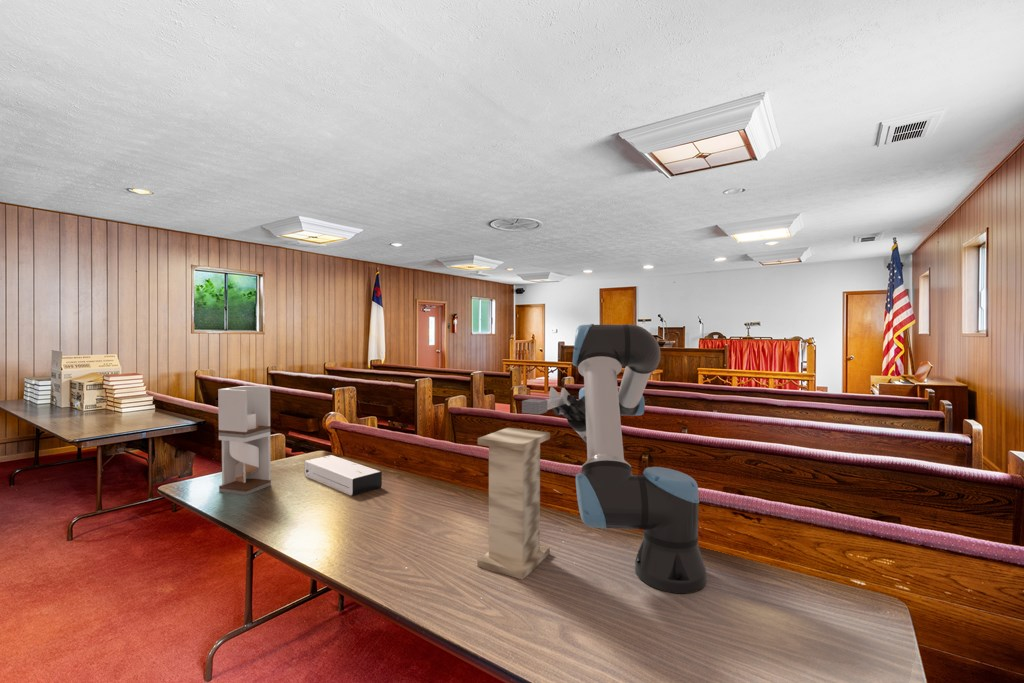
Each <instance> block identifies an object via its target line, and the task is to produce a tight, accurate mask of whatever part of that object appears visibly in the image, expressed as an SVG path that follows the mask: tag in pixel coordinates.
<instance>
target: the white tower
mask: <svg viewBox="0 0 1024 683" xmlns="http://www.w3.org/2000/svg"><path fill="white" fill-rule="evenodd" d="M217 391H218V393H217V395H218V400H217V401H218V402H217V404H218V405H217V406H218V407H217V408H218V414H217V415H218V441H221V478H222V479H221V483H222V484H220V485H218V492H220V493H226V494H233V495H240V496H248V495H250V494H253V493H254V492H258V491H260V490H263V489H265V488H267V487H270V486H271V485H272V482H271V481H272V480H271V479H272V478H271V476H272V474H271V472H272V470H271V467H272V466H271V465H272V464H271V461H272V460H271V459H272V457H271V455H272V454H271V452H272V451H271V450H272V449H271V386H257V385H256V386H255V385H243V386H242V385H241V386H233V387H225V388H218V389H217Z"/></svg>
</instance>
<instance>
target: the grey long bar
mask: <svg viewBox="0 0 1024 683" xmlns="http://www.w3.org/2000/svg"><path fill="white" fill-rule="evenodd" d="M564 404H566V403H565V402H564V401H563V399H562V398H561V397H560V394H559V396H556V397H553V398H550V397H549V398H545V399H538V398H537V399H536V398H528V399H525V400H522V401H521V414H530V415H531V414H532V415H537V416H538V415H542V414H545V413H547V412H548V411H549V410H553V409H552V408H555V407H558V406H561V405H564Z"/></svg>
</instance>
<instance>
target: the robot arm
mask: <svg viewBox="0 0 1024 683" xmlns="http://www.w3.org/2000/svg"><path fill="white" fill-rule="evenodd" d="M572 353H573V354H572V366H574V367H576V368H577V370H578V373H579V374H580V375H581V376H582V377H583V384H584V387H581V388H580V389H579V392H578V397H577V395H571V394H570V393H569V392H568V390H566V388H565V387H561V390H560V394H559V393H558V391H557V390H556V389H555V388H554V387H553V386H550V388H549V393H548V396H549V398H553V397H556V396H559V395H560V397H561V398H562V399H563V401H564V402H565V403H566V404H564V405H561V406H558V407H555V408H552V409H551V410H552V411H553V412H554V415H555V416H556V417H558V416H560V415H562V416H563V418H566V420H567V422H568V425H569V426H570V427H571V428H572V429H573V430H574V431H575V432H576V433H577V434H578V436H579V437H580V438H581V440H583V441H584V442H585V443H586V453H587V454H586V455H587V456H586V457H587V458H586V459H587V460H586V461H585V462H584V463H583V464H582V465H581V468H580V469H581V472H579V473H577V474H575V488H576V498H577V499H576V500H577V506H578V510H579V515H580V519H581V521H582V523H583V524H584V525H585V526H587V528H596V529H597V528H598V529H601V530H606V529H619V530H621V529H622V530H623V529H624V530H643V531H642V532H643V533H642V534H643V536H642V540H641V543H640V545H639V549H638V551H637V554H636V557H635V564H634V565H635V566H634V568H635V570H634V571H635V574H636V576H637V577H638V579H639V580H641V581H642V582H643V583H644V584H646V585H648V586H650V587H652V588H654V589H657V590H659V591H664V592H668V593H674V594H690V593H695V592H698V591H700V590H702V589H703V588H704V587H705V586H706V584H707V569H706V566H705V563H704V560H703V557H702V553H701V551H700V547H699V503H700V496H699V486H698V483H697V481H696V480H695V479H694V478H693V477H692V476H690V475H688V474H687V473H684V472H683V471H679V470H677V469H672V468H667V467H662V466H651V467H649V466H648V467H646V468H644V470H643V472H642V475H641V474H639V475H638V474H633V472H632V469H633V468H632V465H631V464H630V463H628V462H627V460H626V459H625V455H624V445H623V444H624V443H623V434H622V423H621V416H622V417H623V416H625V417H626V416H628V417H629V416H630V417H634V416H635V417H636V416H642V415H644V413H645V408H646V407H645V405H646V403H645V396H644V395H643V394H644V391H645V389H646V386H647V385H648V381H649V380H650V377H651V375H652V373H653V372H655V371H656V369H657V368H658V366H659V364H660V362H661V356H662V355H661V347H660V344H659V343H658V341H657V339H656V337H654V335H653V334H652V333H651V332H650V331H648V330H647V329H645V328H643V326H640V325H636V324H630V323H627V324H594V323H590V324H580V325H578V327H576V330H575V337H574V344H573V352H572ZM623 367H625V368H624V372H623V375H622V379H621V382H620V386H618V375H619V374H620V373H621V371H622V368H623ZM618 387H619V388H618ZM577 398H578V399H577Z"/></svg>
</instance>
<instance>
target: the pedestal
mask: <svg viewBox="0 0 1024 683" xmlns="http://www.w3.org/2000/svg"><path fill="white" fill-rule="evenodd" d="M550 439H551V432H549V431H540V430H532V429H523V428H515V427H505V428H502V429H499V430H497V431H494V432H490V433H489V434H486V435H483V436H480V437H477V445H478V446H484V447H488V551H487V552H486V553H485V554H484V555H482V556H481V557H480V558H478V559H477V567H479V568H482V569H485V570H488V571H492V572H495V573H498V574H501V575H502V574H503V575H506V576H509V577H513V578H516V579H519V580H525V579H526V577H527V576H529V575H530V574H531V572H532V571H533V570H535V569H536V568H537V567H538V566H539V565H540V564H541V562H543V561H544V560H545V559H546V558H547V557H548V556H549V554H550V552H551V551H550V547H549V546H544V545H541V544H540V543H541V542H540V540H541V534H540V531H541V529H540V528H541V525H540V524H541V523H540V522H541V521H540V520H541V519H540V518H541V515H540V514H541V512H540V511H541V510H540V509H541V444H542V443H544V442H545V441H546V442H547V441H549V440H550Z"/></svg>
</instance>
